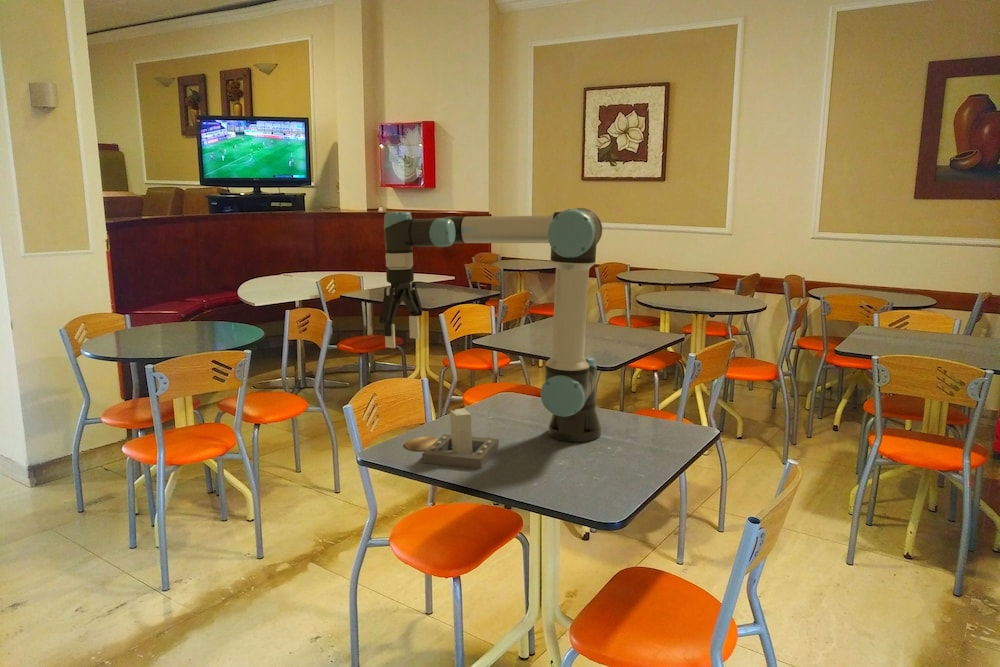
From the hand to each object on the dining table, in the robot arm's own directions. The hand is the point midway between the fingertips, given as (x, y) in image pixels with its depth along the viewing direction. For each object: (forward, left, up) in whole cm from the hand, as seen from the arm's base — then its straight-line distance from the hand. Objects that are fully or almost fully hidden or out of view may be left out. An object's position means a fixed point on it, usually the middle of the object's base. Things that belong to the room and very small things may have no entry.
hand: (402, 342), depth 210 cm
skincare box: (-21, +12, -28) cm, 37 cm away
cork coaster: (-8, +7, -27) cm, 29 cm away
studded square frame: (-21, +12, -27) cm, 36 cm away
